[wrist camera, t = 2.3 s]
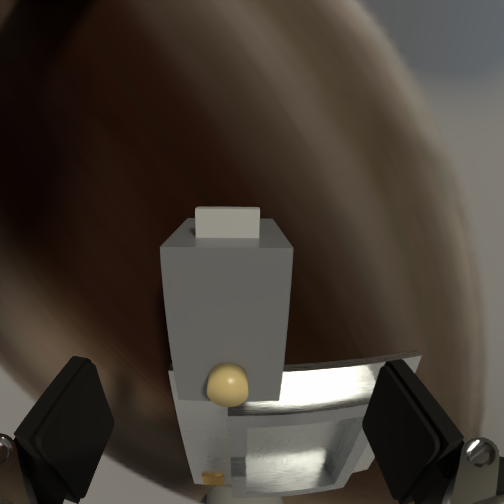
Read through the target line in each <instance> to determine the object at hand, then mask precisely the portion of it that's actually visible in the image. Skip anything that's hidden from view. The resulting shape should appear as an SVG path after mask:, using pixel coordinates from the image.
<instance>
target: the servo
mask: <svg viewBox="0 0 504 504" xmlns="http://www.w3.org/2000/svg"><path fill="white" fill-rule="evenodd" d="M160 255H161V269H162V281H163V292H164V303H165V312H166V321H167V329H168V337H169V344H170V351H171V358H172V365H173V371H174V377H175V383H176V389H177V394H178V400H191V401H212V402H213V403H215V404H217V405H219V406H223V407H234V406H237V405H240V404H242V403H243V402H261V401H280V393H281V384H282V375H283V366H284V356H285V346H286V336H287V325H288V314H289V302H290V289H291V275H292V261H293V247H292V246H291V244H290V243H289V241H288V240H287V239H286V237H285V236H284V234H283V233H282V232H281V230H280V229H279V227H278V226H277V225H276V223H275V222H274V220H273V219H260V209H259V207H197V208H196V209H195V218H188V219H187V220H186V221H185V222H184V223H183V224H182V225H181V226H180V227H179V228H178V229H177V230H176V231H175V232H174V233H173V234H172V235H171V236H170V237H169V238H168V239H167V240H166V241H165V242H164V243H163V244H162V245H161V247H160Z"/></svg>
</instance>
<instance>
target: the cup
mask: <svg viewBox="0 0 504 504" xmlns="http://www.w3.org/2000/svg"><path fill="white" fill-rule="evenodd" d="M207 504H283V501H282V496H280V497H265V498H233V497H232V485H220V486H217V487H214V488H212V489H211V490H210V491H209V492H208V493H207Z"/></svg>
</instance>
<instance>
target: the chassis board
mask: <svg viewBox="0 0 504 504" xmlns="http://www.w3.org/2000/svg"><path fill="white" fill-rule="evenodd" d="M421 356H422V355H421V354H420V353H419V352H418V351H417V350H413V351H408V352H402V353H395V354H389V355H382V356H375V357H368V358H360V359H351V360H342V361H331V362H320V363H306V364H288V365H284V366H283V375H282V384H281V393H280V401H261V402H243V403H242V404H240V405H237V406H234V407H223V406H219V405H217V404H215V403H213V402H212V401H191V400H178V394H177V389H176V383H175V377H174V371H173V365H172V364H171V363H170V367H169V370H168V372H169V378H170V383H171V388H172V394H173V399H174V404H175V408H176V413H177V418H178V422H179V427H180V431H181V435H182V439H183V443H184V447H185V451H186V455H187V459H188V463H189V466H190V470H191V473H192V477H193V480H194V484H204V485H232V497H233V498H265V497H280V496H290V495H299V494H307V493H314V492H320V491H326V490H332V489H337V488H342V487H344V485H345V484H346V482H347V480H348V479H349V477H350V475H351V474H352V473H353V472H358V471H362V470H366V469H368V467H369V466H370V464H371V462H372V461H373V459H374V457H375V456H374V453H373V451H372V449H371V447H370V444H369V442H368V440H367V438H366V435H365V433H364V431H363V428H362V421H363V418H364V415H365V412H366V410H367V407H368V404H369V401H370V398H371V395H372V392H373V389H374V386H375V383H376V380H377V376H378V373H379V370H380V368H381V367H382V366H384V364H385V363H386V362H387V361H392V360H399V359H403V360H404V361H405V362H406V363H407V365H408V366H409V367H410V368H411V369H412V371H413V372H414V373H415V372H416V369H417V367H418V364H419V361H420V359H421Z"/></svg>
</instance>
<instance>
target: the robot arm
mask: <svg viewBox="0 0 504 504" xmlns="http://www.w3.org/2000/svg"><path fill="white" fill-rule="evenodd" d="M113 427H114V419H113V416H112V413H111V411H110V408H109V405H108V402H107V400H106V397H105V394H104V391H103V388H102V385H101V382H100V379H99V375H98V372H97V369H96V366H95V365H94V364H93V363H92V362H91V360H90V359H88V358H83V357H77V356H73V357H72V358H71V359H70V360H69V361H68V363H67V364H66V365H65V366H64V368H63V369H62V370H61V371H60V373H59V374H58V375H57V376H56V378H55V379H54V380H53V381H52V383H51V384H50V385H49V387H48V388H47V389H46V390H45V392H44V393H43V394H42V396H41V397H40V398H39V400H38V401H37V402H36V404H35V405H34V406H33V408H32V409H31V410H30V412H29V413H28V414H27V416H26V417H25V418H24V420H23V421H22V423H21V424H20V426H19V427H18V428H17V430H16V431H15V433H14V435H15V439H14V440H12V438H11V437H9V436H8V435H5V434H1V433H0V504H63V501H64V499H66V500H69V501H71V502H74V503H77V504H78V503H79V501H80V499H81V498H84V497H85V496H86V493H87V491H88V488H89V486H90V483H91V481H92V478H93V476H94V473H95V470H96V468H97V465H98V463H99V461H100V458H101V456H102V453H103V451H104V449H105V446H106V444H107V442H108V439H109V437H110V435H111V432H112V430H113ZM362 428H363V431H364V433H365V435H366V438H367V440H368V442H369V444H370V447H371V449H372V451H373V453H374V456H375V458H376V460H377V462H378V465H379V467H380V469H381V472H382V474H383V476H384V479H385V481H386V483H387V486H388V488H389V490H390V493H391V495H392V497H393V499H395V500H398V501H399V504H407V503H409V502H412V501H414V502H415V504H504V457H500V456H499V450H498V448H497V446H496V445H495V443H494V442H493V441H491V440H489V439H487V438H484V437H474V438H471V439H469V440H468V441H466V443H464V441H463V438H464V436H463V435H462V434H461V432H460V431H459V430H458V428H457V427H456V426H455V424H454V423H453V422H452V420H451V419H450V418H449V416H448V415H447V414H446V413H445V411H444V410H443V409H442V407H441V406H440V405H439V403H438V402H437V401H436V400H435V398H434V397H433V396H432V394H431V393H430V392H429V391H428V389H427V388H426V387H425V386H424V384H423V383H422V382H421V381H420V379H419V378H418V377H417V376H416V374H415V373H414V372H413V371H412V369H411V368H410V367H409V366H408V365H407V363H406V362H405V361H404V360H403V359H399V360H392V361H387V362H386V363H385V364H384V366H382V367H381V368H380V370H379V373H378V376H377V380H376V383H375V386H374V389H373V392H372V395H371V398H370V401H369V404H368V407H367V410H366V412H365V415H364V418H363V421H362Z"/></svg>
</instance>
